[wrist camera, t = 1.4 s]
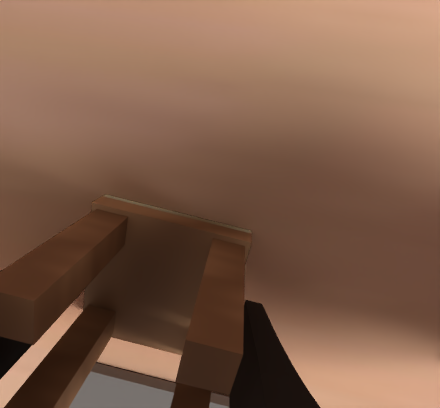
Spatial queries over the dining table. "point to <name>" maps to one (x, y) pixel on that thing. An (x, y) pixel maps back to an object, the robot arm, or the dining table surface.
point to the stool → (131, 298)
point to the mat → (129, 391)
